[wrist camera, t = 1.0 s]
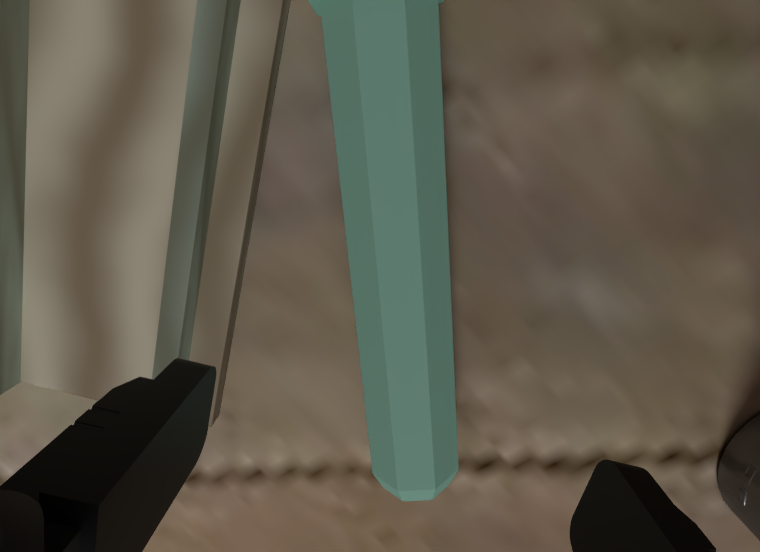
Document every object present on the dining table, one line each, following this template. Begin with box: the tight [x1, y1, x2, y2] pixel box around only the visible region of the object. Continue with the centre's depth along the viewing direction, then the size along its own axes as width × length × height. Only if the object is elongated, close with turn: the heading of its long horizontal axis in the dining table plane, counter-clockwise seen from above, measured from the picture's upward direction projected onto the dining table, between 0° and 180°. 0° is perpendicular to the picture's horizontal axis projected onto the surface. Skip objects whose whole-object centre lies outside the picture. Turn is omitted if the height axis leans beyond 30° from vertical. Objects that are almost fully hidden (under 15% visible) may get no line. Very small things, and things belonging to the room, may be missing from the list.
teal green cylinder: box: [308, 0, 458, 501], centre depth 22 cm, size 6×6×25 cm
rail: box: [0, 0, 291, 427], centre depth 22 cm, size 14×24×3 cm, turn 166°
